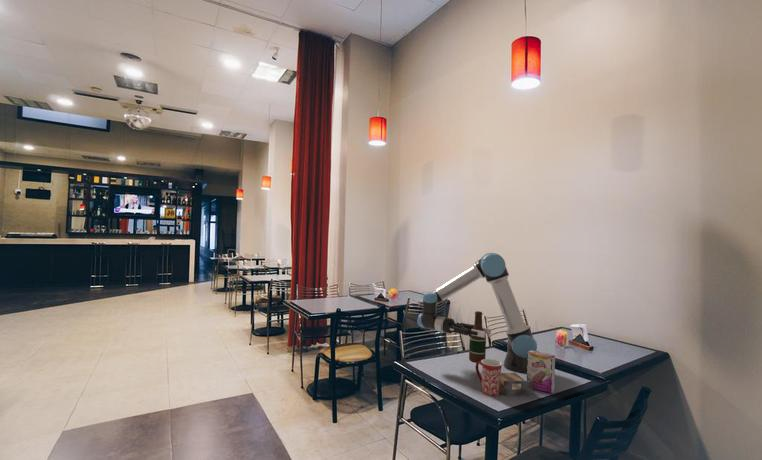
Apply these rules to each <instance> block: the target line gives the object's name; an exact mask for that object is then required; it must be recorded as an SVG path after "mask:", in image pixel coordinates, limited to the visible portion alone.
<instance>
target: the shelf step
mask: <svg viewBox="0 0 762 460" xmlns="http://www.w3.org/2000/svg"><path fill="white" fill-rule="evenodd" d="M532 385H533V381H527V380H525V379H524V378H523V377H521V376H520V375H519V374H517V373H516V372H501V377H500V388H499V393H501V394H502V395H503V396H533V388H532Z"/></svg>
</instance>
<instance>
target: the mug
mask: <svg viewBox="0 0 762 460" xmlns="http://www.w3.org/2000/svg"><path fill="white" fill-rule="evenodd" d="M479 365H480V366H481V373H480V370H479ZM502 365H503V363H502V362H501V361H499V360H496V359H493V358H492V359H491V358H485V359H483V360H481V362H477V363H475V373H476V376H477V377H478V380H479V382H480V384H481V392H482V393H483V394H484V395H487V396H490V397H497V396H499V395H500V391H499V388H500V377H501V373H502Z"/></svg>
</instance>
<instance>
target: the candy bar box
mask: <svg viewBox="0 0 762 460" xmlns="http://www.w3.org/2000/svg"><path fill="white" fill-rule="evenodd" d="M555 371H556V355H554V354H550V353H546V352H542V351H533V350H530V351H528V352H527V372H526V381H533V385H532V390H533V389H534V390H536V391H537V390H538V391H541V392H545V393H547V394H551V395H552V394H553V393H554V392H555V380H556V379H555V375H556V374H555V373H556V372H555Z"/></svg>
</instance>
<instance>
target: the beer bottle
mask: <svg viewBox="0 0 762 460" xmlns="http://www.w3.org/2000/svg"><path fill="white" fill-rule="evenodd" d="M473 325H474V328H473V329H474V330H479V331H484V330H483V328H484V327H483V311H480V310H479V311H475V312H474V324H473ZM486 336H487V334H485V338H483V337H478V336H473V335H471V337H469V344H468V345H469V346H468V347H469V349H468V350H469V351H468V359H469V361H470V362H471V363H474V364H476V363H477V362H481V360H483V359H486V357H487V355H486V353H487V351H486V350H487V347H486V346H487V337H486Z"/></svg>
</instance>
